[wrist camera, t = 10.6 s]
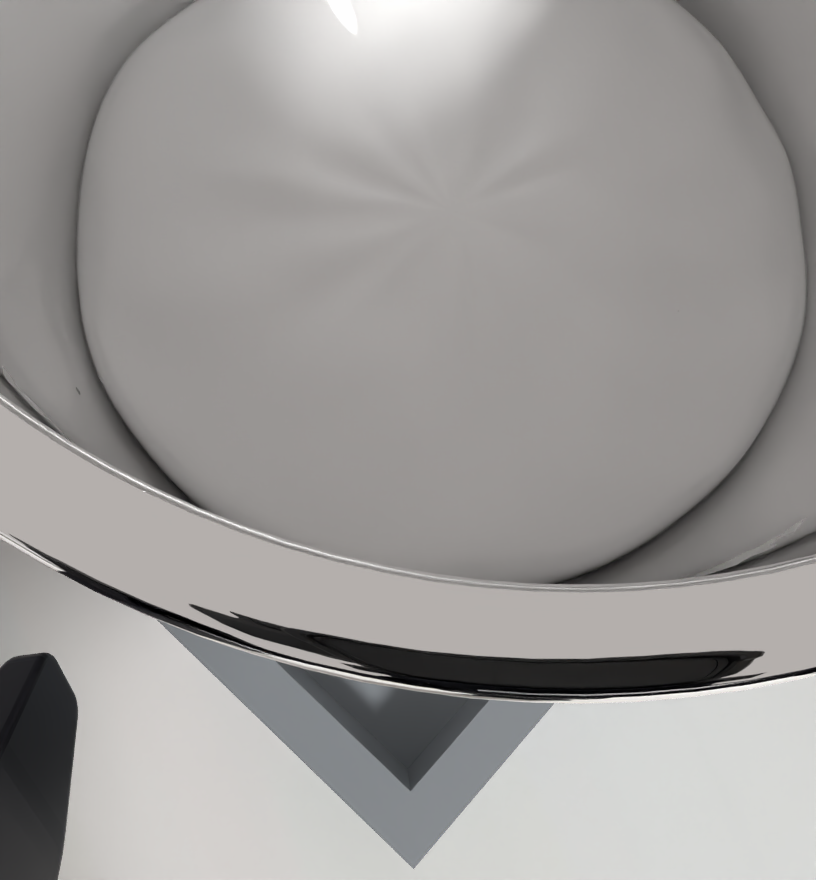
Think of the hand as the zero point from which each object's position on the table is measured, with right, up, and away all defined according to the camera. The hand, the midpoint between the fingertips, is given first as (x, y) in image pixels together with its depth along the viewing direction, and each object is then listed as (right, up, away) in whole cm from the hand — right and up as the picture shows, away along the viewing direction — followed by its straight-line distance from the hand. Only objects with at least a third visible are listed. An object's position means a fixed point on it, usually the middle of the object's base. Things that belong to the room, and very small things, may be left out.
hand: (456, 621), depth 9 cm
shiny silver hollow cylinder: (-1, +2, +9) cm, 9 cm away
